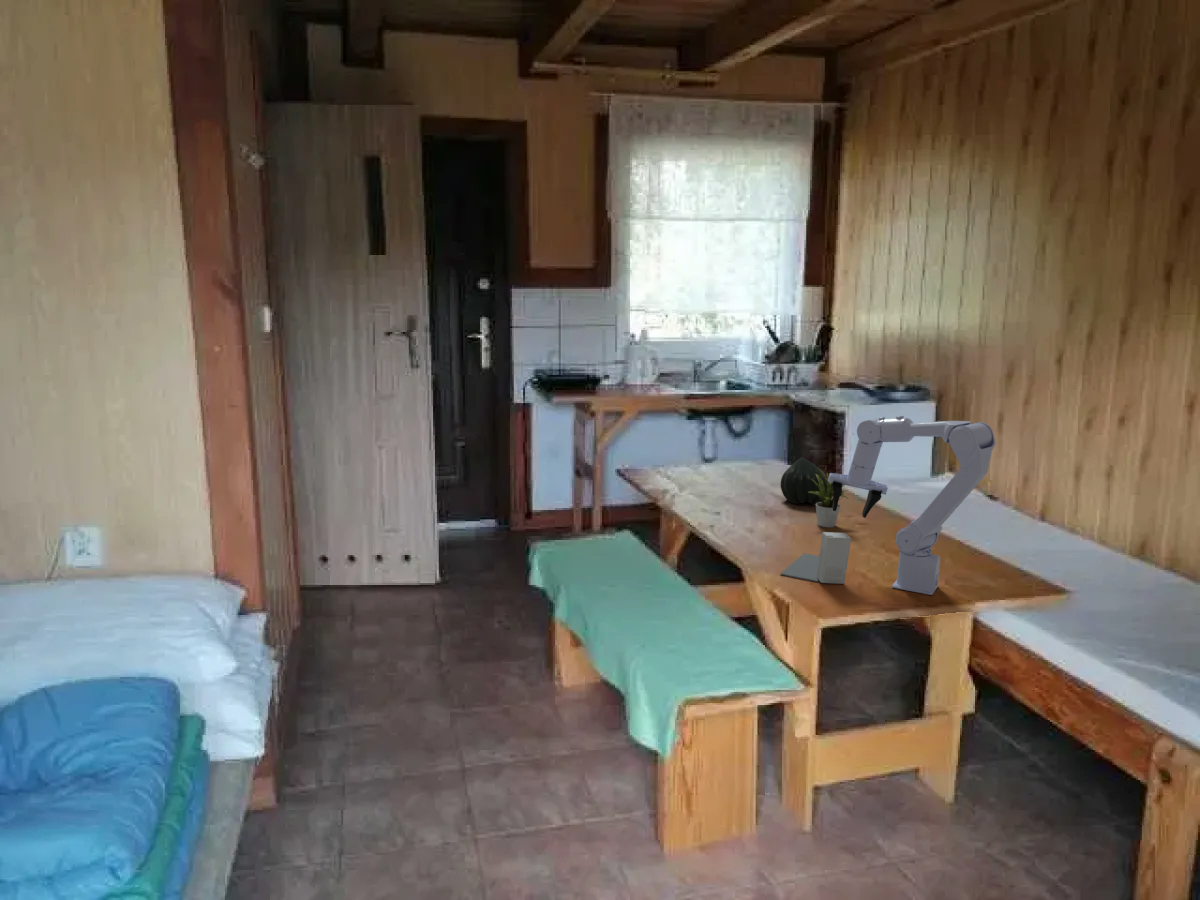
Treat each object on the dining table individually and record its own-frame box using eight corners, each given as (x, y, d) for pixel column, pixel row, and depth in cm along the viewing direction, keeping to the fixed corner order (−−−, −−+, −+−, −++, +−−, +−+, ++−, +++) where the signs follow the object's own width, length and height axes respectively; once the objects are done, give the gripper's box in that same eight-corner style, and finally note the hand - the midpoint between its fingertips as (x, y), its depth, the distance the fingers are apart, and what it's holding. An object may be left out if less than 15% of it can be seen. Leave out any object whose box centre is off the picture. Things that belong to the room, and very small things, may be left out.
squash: (824, 495, 291) (828, 454, 298) (776, 492, 296) (781, 451, 303) (826, 515, 303) (830, 475, 310) (780, 512, 307) (785, 473, 314)
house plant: (853, 535, 269) (858, 480, 265) (804, 531, 271) (809, 476, 268) (850, 521, 282) (855, 469, 279) (804, 517, 285) (808, 465, 282)
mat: (839, 560, 245) (839, 559, 245) (817, 582, 229) (817, 580, 228) (803, 554, 250) (803, 553, 250) (780, 575, 233) (780, 573, 233)
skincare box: (838, 578, 232) (846, 532, 229) (845, 585, 227) (852, 538, 224) (814, 577, 231) (821, 530, 228) (820, 583, 227) (827, 536, 224)
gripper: (890, 465, 236) (875, 512, 241) (833, 452, 238) (819, 500, 243) (894, 475, 230) (878, 523, 235) (835, 462, 231) (821, 511, 236)
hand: (848, 512), depth 238 cm, fingers open, 7 cm apart
